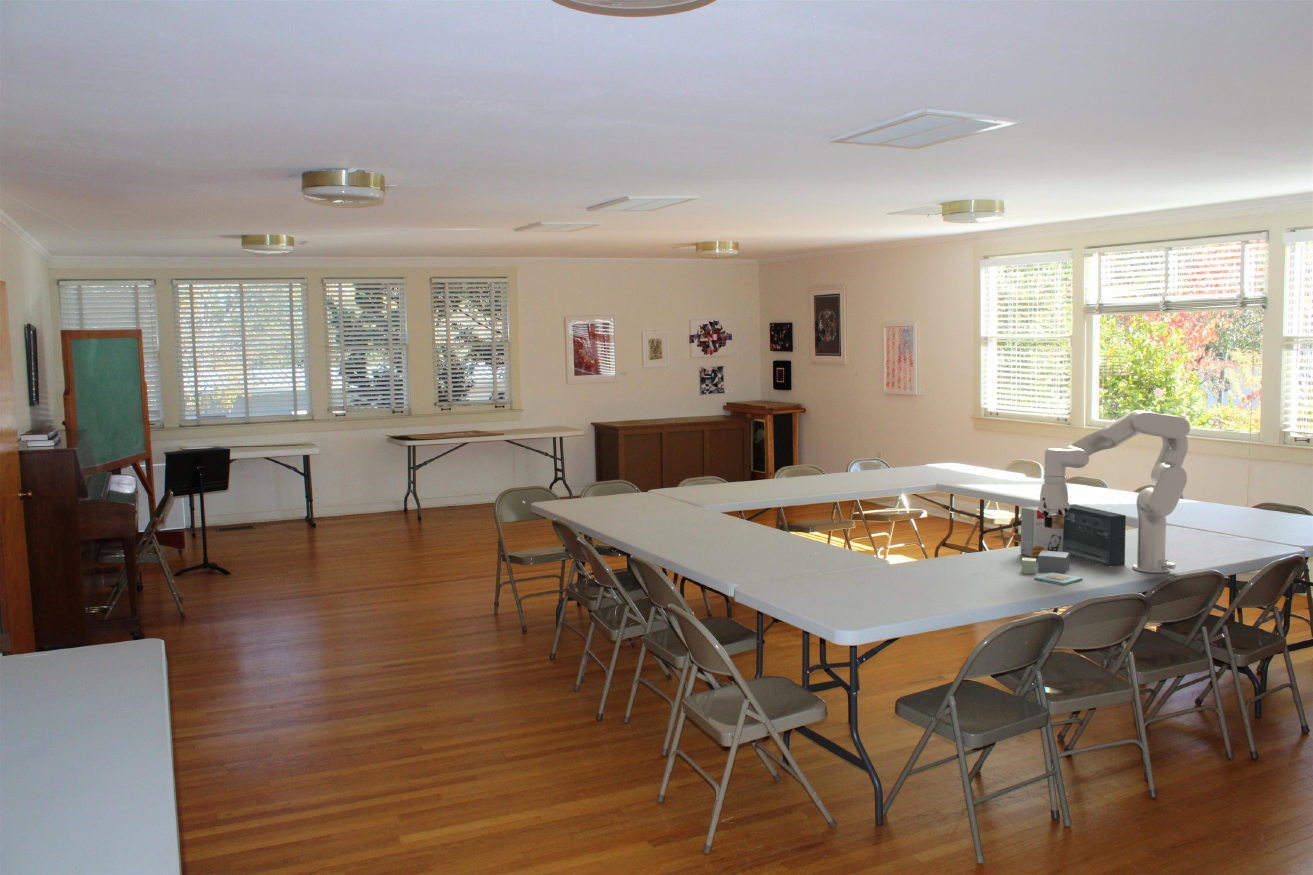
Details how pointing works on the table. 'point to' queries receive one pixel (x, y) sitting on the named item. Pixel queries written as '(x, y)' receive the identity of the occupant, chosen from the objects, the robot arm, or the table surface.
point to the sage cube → (1029, 565)
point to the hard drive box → (1038, 533)
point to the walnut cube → (1056, 521)
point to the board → (1058, 578)
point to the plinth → (1053, 561)
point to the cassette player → (1095, 535)
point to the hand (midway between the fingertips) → (1054, 525)
